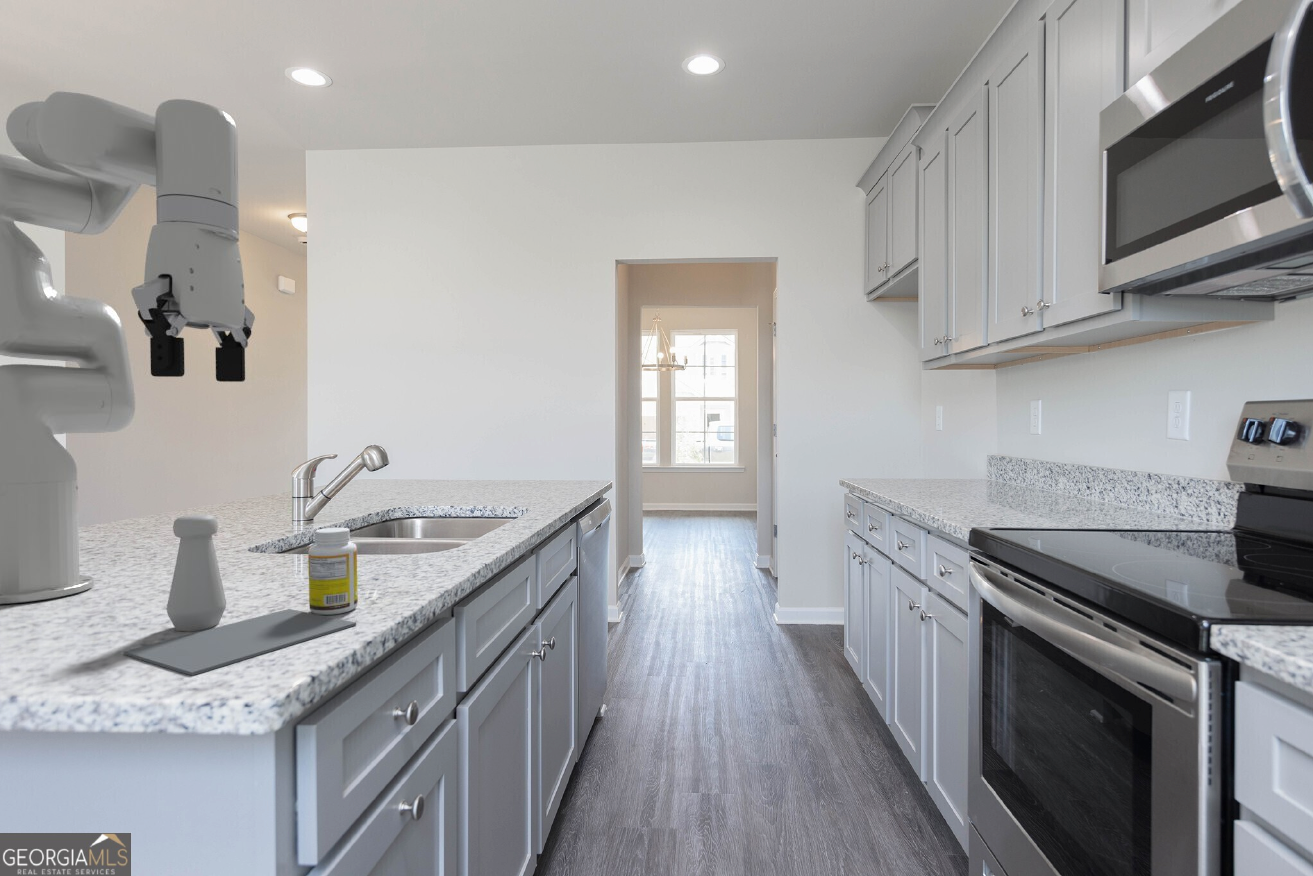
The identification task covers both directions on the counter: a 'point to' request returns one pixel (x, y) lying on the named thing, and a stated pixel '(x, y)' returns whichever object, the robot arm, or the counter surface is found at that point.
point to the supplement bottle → (332, 572)
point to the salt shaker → (196, 576)
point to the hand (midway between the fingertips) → (201, 379)
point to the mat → (237, 641)
